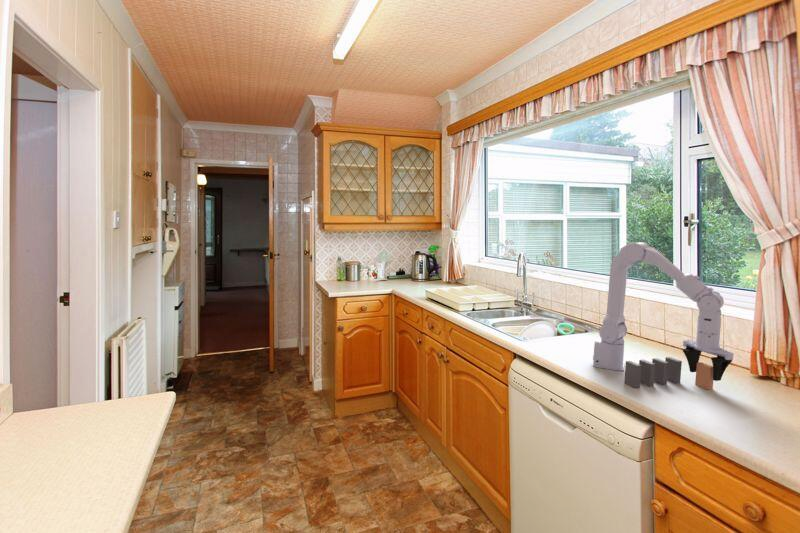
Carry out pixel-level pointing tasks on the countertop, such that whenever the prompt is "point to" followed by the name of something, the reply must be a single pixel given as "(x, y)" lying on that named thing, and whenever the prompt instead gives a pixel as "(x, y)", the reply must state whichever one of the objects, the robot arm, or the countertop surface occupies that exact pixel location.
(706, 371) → the domino
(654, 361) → the domino
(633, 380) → the domino
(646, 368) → the domino
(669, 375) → the domino
